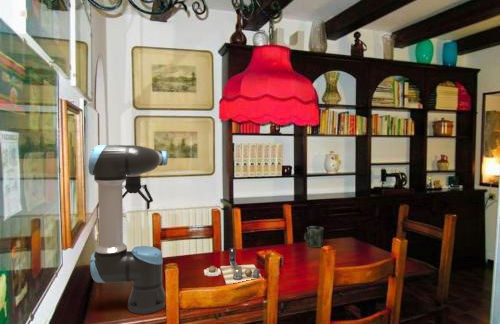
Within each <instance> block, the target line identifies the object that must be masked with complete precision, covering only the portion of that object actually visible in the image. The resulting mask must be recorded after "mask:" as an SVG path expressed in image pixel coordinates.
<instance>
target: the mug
mask: <svg viewBox="0 0 500 324" xmlns="http://www.w3.org/2000/svg"><path fill="white" fill-rule="evenodd" d="M306 229H307V232H304V237H303V238H304V241H305V242H306V244H307V247H309V248H313V247H320V248H322V247H323V246H324V229H325V228H324V226H317V225H311V226H310V225H309V226H307V227H306Z"/></svg>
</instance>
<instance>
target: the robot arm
mask: <svg viewBox="0 0 500 324" xmlns="http://www.w3.org/2000/svg"><path fill="white" fill-rule="evenodd" d="M168 159H169V158H168V151H166V150H155V149H153V148H149V147H146V146H141V145H136V144H135V145H132V144H131V145H130V144H129V145H125V144H124V145H123V144H99V145H95V146H94V147H93V148H92V150H91V152H90V155H89V159H88V173H89V174H90V176H93V177H94V182H96V184H98V226H99V228H98V229H99V231H98V232H99V235H98V236H99V243H98V244H99V245H98V246H97V247H96V248H95V250H94V251H95V252H93V253H92V254H91V256H90V263H89V270H90V275H91V278H92V279H93V281H94V282H95V283H98V284H99V283H100V284H101V283H103V284H108V283H109V284H110V283H126V282H127V283H128V282H129V283H130V282H132V283H131V284H132V286H131V287H132V289H131V291H130V294H129V297H128V300H127V310H128V312H130V313H134V314H138V315H147V314H152V313H157V312H159V311H162V310H163V309H164V308H165V307H166V306H165V294H166V291H165V289H164V287H163V263H164V262H163V253H162V251H161V250H160V249H159V248H157V247H154V246H151V245H149V246H148V245H140V246H134V247H133V248H132V250H130V251H128V246H127V244H125V243H124V238H123V237H124V236H123V235H124V232H123V231H124V230H123V229H124V226H123V224H124V223H123V221H124V220H123V218H124V217H123V215H124V214H123V199H124V198H125V197H126V196H127V194H138V195H140V197H142V199H143V200H144V201H145V216H147V217H148V210H149V209H150V208H151V206H150V203H153V202H154V199H153V197H152V194H151V193H150V191H149V189H148V185H147V184H141V182H142V180H141V177H142V176H141V175H142V174H145V173H149V172H151V171H154V170H156V169H157V168H158V166H160V167H161V166H167V165H168ZM124 182H125V184H123V183H124ZM123 189H125V190H126V191H124V193H123ZM141 189H143V190H144V192H145V193H146V195H147V196H146V195H145V194H144V193H143V192H142V190H141Z"/></svg>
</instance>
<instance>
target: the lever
mask: <svg viewBox="0 0 500 324" xmlns="http://www.w3.org/2000/svg"><path fill="white" fill-rule="evenodd" d="M229 264H230V266H231V267H232V269H233V271H234V273H235V276H241V275H242V267H241V266H238V263H237V262H236V248H235V247H230V248H229Z"/></svg>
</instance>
